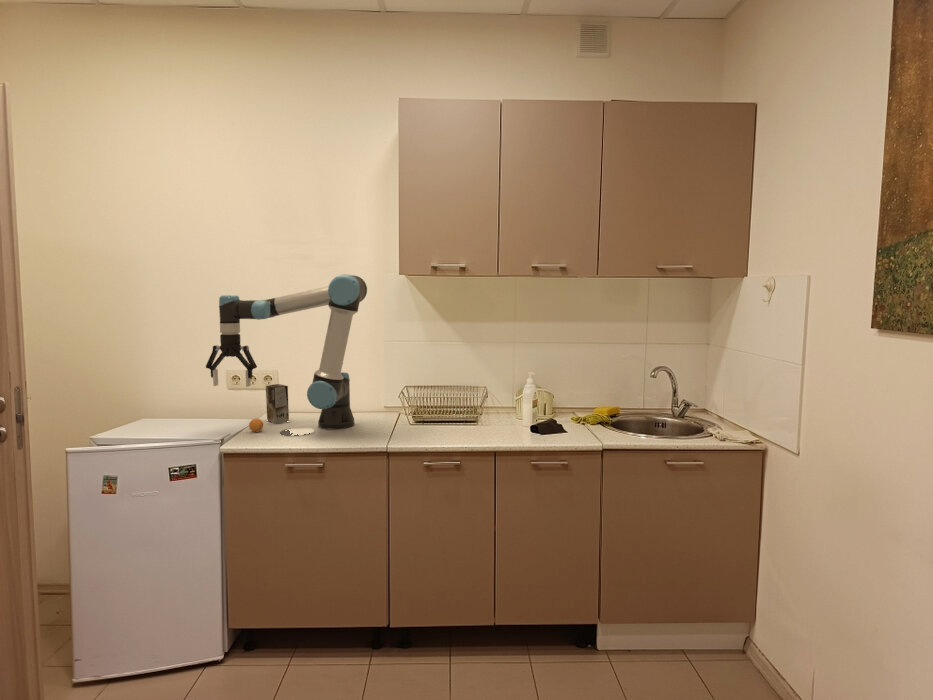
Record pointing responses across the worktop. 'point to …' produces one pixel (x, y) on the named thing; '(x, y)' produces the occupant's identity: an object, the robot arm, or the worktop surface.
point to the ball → (256, 425)
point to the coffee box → (277, 403)
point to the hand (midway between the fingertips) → (232, 385)
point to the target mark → (288, 433)
